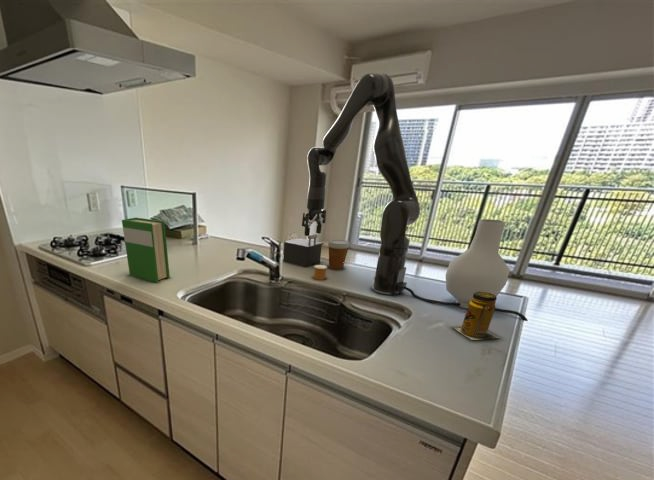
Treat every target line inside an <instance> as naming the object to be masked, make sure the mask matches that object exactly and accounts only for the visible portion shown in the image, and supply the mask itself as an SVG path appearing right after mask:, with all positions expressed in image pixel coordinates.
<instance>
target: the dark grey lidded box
mask: <svg viewBox="0 0 654 480" xmlns="http://www.w3.org/2000/svg"><path fill="white" fill-rule="evenodd" d="M322 246H323V245H319V246H316V247H312V248H303V247H298V246H294V245H289V244H285V243H284V242H283V255H284V259H283V258H282V261H283V262H284V263H289V264H292V265H296V266H299V267H304V268H306V267H309V266H314V265H317V264H319V263H321V258H322V257H321V255H322Z"/></svg>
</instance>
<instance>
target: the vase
mask: <svg viewBox="0 0 654 480" xmlns="http://www.w3.org/2000/svg"><path fill="white" fill-rule="evenodd" d="M505 227H506V221H504V220H501V219H491V218H489V219H487V218H481V219H479V220H478V224H477V227H476V230H475V234H474V236H473V239H472V240H471V243H470V246H469V247H468V249H467V250H465V251H464V252H462V253H461V254H459V255H458V256H456V257H454V258H453V259H452V260H449V264H448V267H447V270H446V272H445V288H446V289H445V290H446V292H448V293H449V294H450V295H451V296H452V297H453V298H454V299H455V303H460V306H459V307H460V308H462V309H463V308H464V309H467V308H468V305H469V302H470V301H472V298H473V294H474V293H475V292H486V293H491V294H493V295H495V296H496V298H497V297H498V295H500V293H501V292H502V291H503V289H504V288H505V286H506V285H507V281H508V278H509V274H510V271H511V270H510V267H509V266H508V264H507V263H506V262H505V260H504V259H503V257H502V255H501V254H500V253H499V252H500V246H501V239H502V235H503V232H504V229H505Z"/></svg>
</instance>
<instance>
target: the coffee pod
mask: <svg viewBox="0 0 654 480" xmlns="http://www.w3.org/2000/svg"><path fill="white" fill-rule="evenodd" d="M313 268H314V273H313V279H315V280H317V281H324V280H325V279H326V275H327V269H328V266H327V265H325V264H314V265H313Z"/></svg>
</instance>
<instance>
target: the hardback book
mask: <svg viewBox="0 0 654 480" xmlns="http://www.w3.org/2000/svg"><path fill="white" fill-rule="evenodd" d="M121 224H122V225H121V226H122V232H123V238H124V239H123V240H124V246H125V251H126V252H125V253H126V259H127V266H128V272H129V276H130V277H134V278H138V279H141V280H145V281H149V282H152V283H157V284H158V283H159V280H160V281H161V280H162V279H170V278H171V275H170V266H169V254H168V245H167V236H166V235H167V234H166V225H165V224H166V223H165V220H157V219H151V218H150V219H149V218H144V217H131V218H125V219H124V218H123V219H121Z"/></svg>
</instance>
